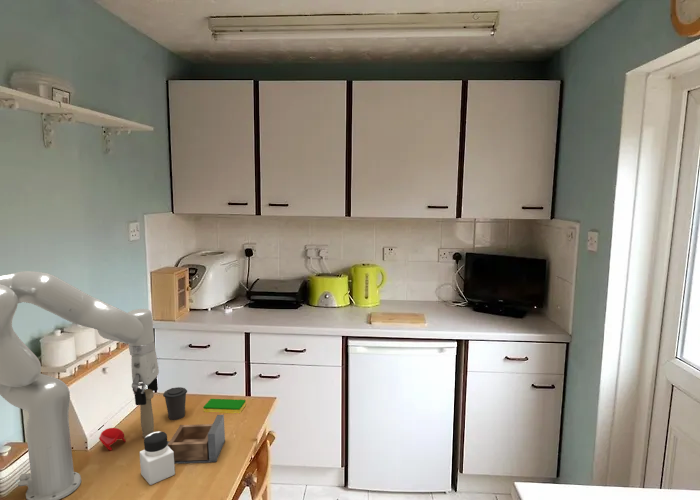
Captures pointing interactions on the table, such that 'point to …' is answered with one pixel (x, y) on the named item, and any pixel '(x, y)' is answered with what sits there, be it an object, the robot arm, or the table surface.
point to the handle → (147, 414)
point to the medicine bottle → (156, 458)
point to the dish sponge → (224, 405)
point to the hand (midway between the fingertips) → (147, 397)
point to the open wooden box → (190, 442)
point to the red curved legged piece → (111, 437)
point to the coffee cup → (175, 402)
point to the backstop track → (212, 441)
